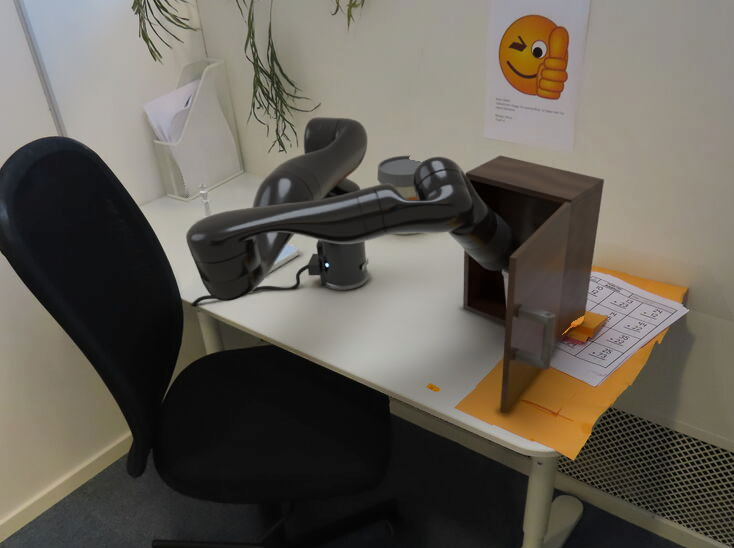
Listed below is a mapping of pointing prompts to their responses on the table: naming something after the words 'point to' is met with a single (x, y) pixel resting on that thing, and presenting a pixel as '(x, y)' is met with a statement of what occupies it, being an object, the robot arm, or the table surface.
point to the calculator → (285, 256)
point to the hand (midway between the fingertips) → (523, 274)
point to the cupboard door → (533, 304)
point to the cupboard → (525, 216)
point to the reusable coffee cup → (399, 176)
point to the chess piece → (205, 201)
